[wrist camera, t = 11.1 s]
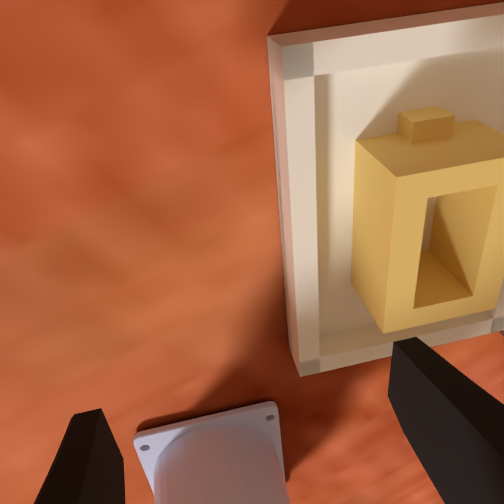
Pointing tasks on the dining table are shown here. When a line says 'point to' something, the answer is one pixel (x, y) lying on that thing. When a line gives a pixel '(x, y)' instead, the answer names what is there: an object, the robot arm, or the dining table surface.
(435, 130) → the yellow hollow rectangular block
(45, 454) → the dining table surface
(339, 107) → the tray
